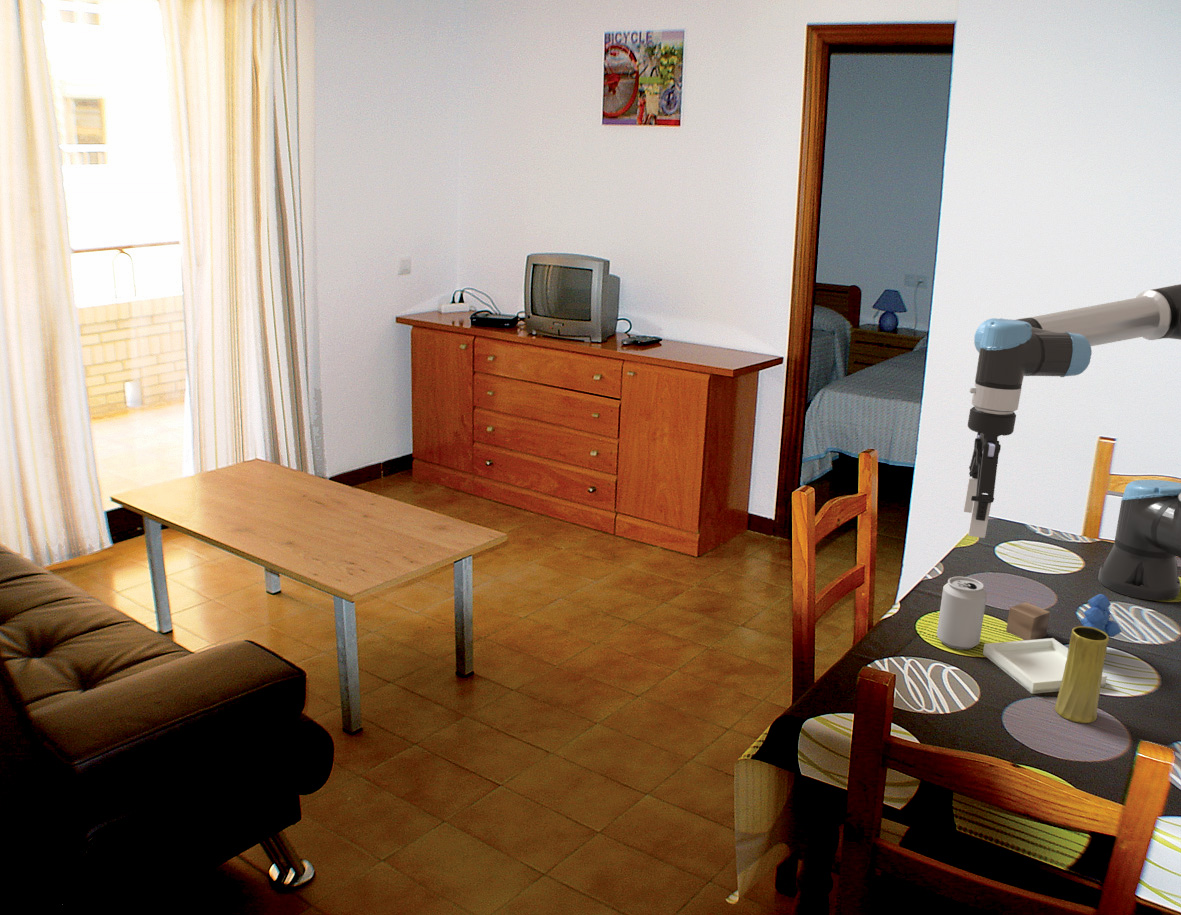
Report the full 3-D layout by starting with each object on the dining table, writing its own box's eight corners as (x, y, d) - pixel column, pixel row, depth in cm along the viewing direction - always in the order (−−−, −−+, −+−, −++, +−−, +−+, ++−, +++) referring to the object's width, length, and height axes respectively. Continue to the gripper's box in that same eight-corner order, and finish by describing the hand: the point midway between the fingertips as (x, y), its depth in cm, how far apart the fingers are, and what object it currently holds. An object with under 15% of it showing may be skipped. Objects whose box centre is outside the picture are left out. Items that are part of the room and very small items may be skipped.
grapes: (1109, 674, 169) (1121, 611, 166) (1067, 662, 173) (1078, 600, 170) (1121, 649, 178) (1133, 589, 175) (1081, 638, 182) (1092, 579, 179)
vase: (1047, 703, 159) (1061, 624, 155) (1082, 703, 160) (1097, 624, 156) (1067, 724, 154) (1083, 642, 149) (1104, 723, 154) (1120, 642, 150)
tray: (1051, 647, 178) (1053, 638, 178) (1104, 686, 165) (1106, 676, 165) (982, 653, 175) (984, 643, 175) (1031, 693, 162) (1033, 683, 162)
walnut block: (1022, 625, 187) (1026, 602, 186) (1045, 636, 183) (1050, 612, 182) (1005, 631, 185) (1009, 607, 183) (1029, 642, 180) (1033, 618, 179)
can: (982, 653, 176) (991, 592, 172) (938, 648, 177) (947, 588, 173) (975, 635, 183) (984, 576, 179) (933, 630, 184) (941, 572, 181)
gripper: (966, 392, 182) (948, 500, 188) (975, 422, 159) (955, 543, 165) (1009, 397, 180) (990, 506, 186) (1025, 428, 157) (1002, 550, 163)
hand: (973, 524), depth 175 cm, fingers open, 13 cm apart
